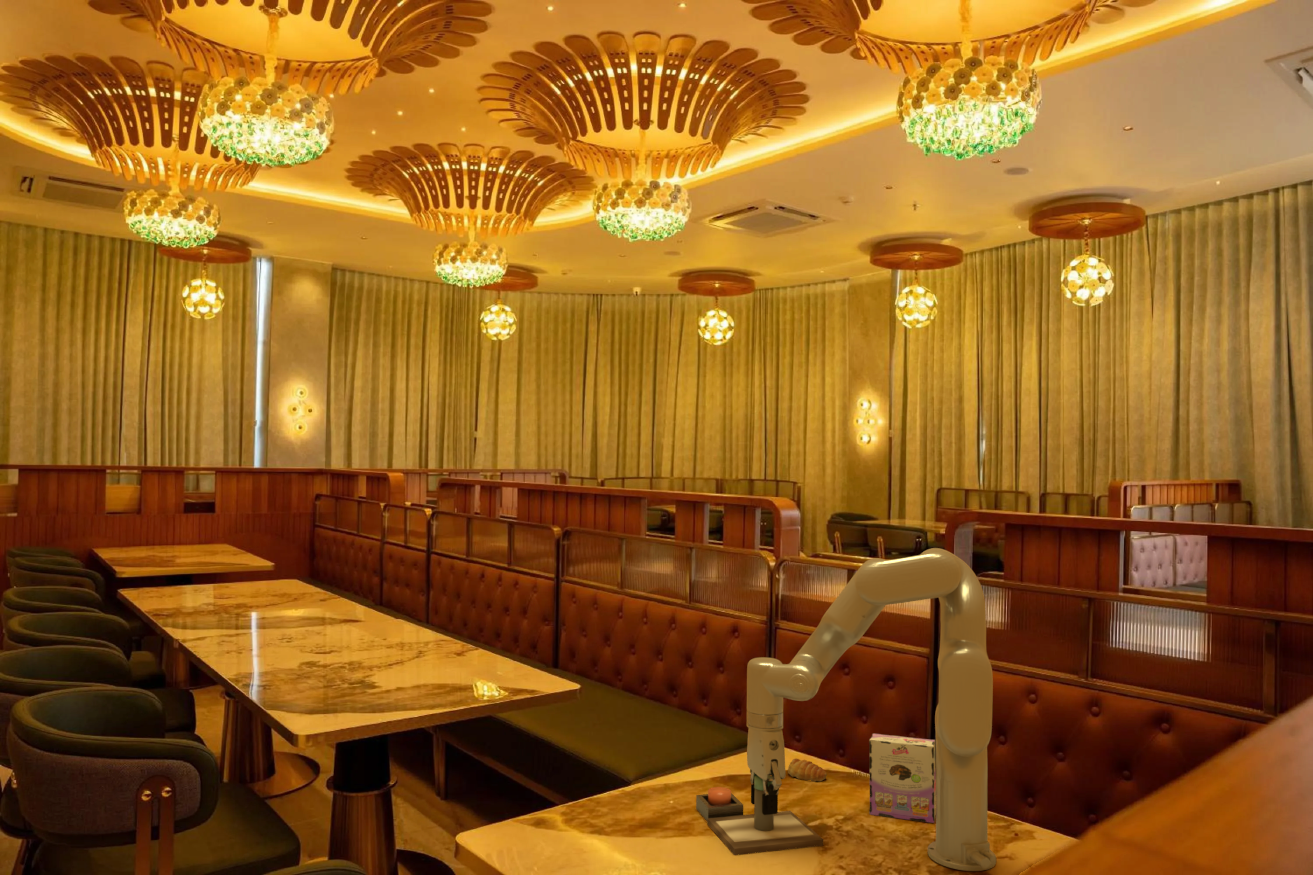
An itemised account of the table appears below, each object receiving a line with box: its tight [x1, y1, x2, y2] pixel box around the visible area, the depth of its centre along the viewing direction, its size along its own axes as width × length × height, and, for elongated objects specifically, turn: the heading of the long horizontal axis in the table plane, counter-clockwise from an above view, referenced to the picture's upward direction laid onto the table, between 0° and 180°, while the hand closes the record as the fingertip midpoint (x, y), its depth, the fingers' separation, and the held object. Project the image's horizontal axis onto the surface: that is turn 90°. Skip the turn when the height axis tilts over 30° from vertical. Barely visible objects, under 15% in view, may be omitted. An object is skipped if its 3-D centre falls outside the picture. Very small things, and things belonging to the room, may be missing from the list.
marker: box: [753, 775, 774, 831], centre depth 185 cm, size 4×4×10 cm
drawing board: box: [706, 810, 824, 856], centre depth 185 cm, size 16×19×1 cm
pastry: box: [787, 757, 828, 782], centre depth 221 cm, size 9×7×4 cm
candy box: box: [868, 733, 936, 824], centre depth 197 cm, size 14×6×16 cm, turn 69°
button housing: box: [695, 792, 744, 821], centre depth 196 cm, size 8×8×3 cm
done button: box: [707, 786, 732, 806], centre depth 196 cm, size 5×5×2 cm
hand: (764, 807), depth 185 cm, fingers open, 5 cm apart
